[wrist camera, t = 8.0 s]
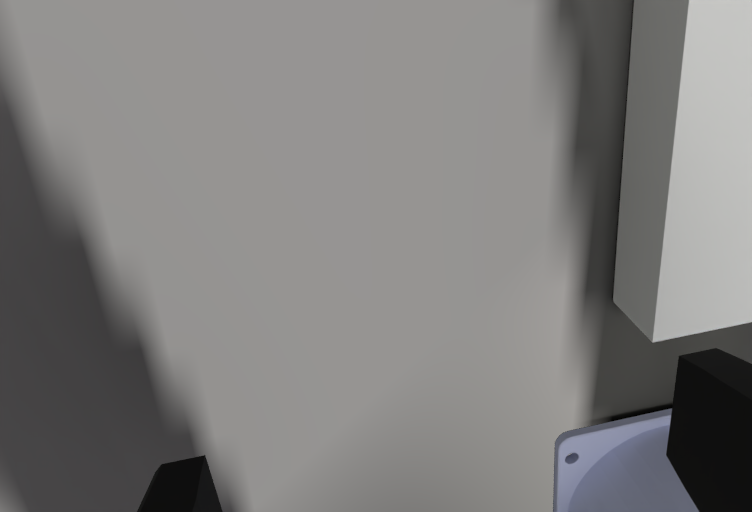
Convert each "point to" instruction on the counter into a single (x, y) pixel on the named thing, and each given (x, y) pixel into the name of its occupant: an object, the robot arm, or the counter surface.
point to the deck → (687, 169)
